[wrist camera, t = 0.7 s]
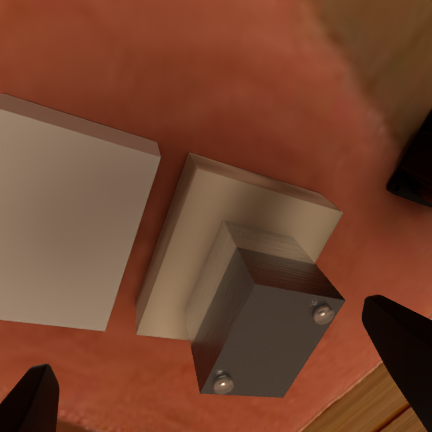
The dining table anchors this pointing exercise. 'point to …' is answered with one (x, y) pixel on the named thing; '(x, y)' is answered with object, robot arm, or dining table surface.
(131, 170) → the stand
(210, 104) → the dining table surface
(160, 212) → the dining table surface
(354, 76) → the dining table surface
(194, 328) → the housing
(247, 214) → the stand
